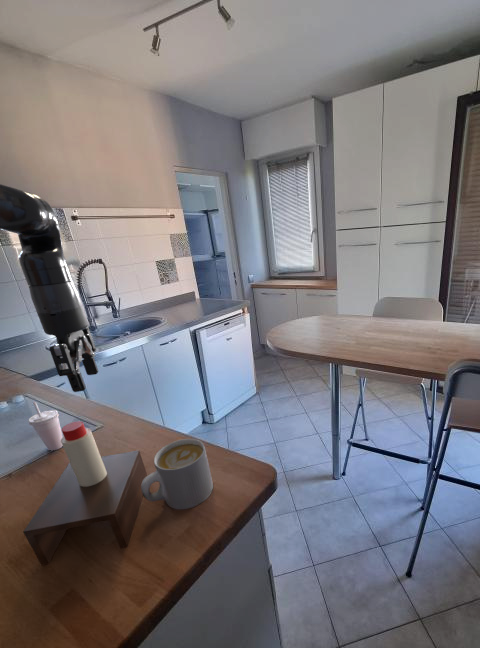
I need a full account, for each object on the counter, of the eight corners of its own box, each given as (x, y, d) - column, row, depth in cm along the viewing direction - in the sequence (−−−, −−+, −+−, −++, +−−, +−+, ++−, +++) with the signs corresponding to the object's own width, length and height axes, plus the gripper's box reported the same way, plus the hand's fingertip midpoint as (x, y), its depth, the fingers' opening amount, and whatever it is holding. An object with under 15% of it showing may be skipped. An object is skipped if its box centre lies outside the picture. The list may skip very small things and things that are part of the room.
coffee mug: (206, 469, 77) (197, 433, 73) (219, 495, 69) (210, 456, 65) (144, 493, 72) (132, 455, 68) (151, 525, 64) (137, 485, 60)
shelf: (41, 565, 57) (22, 531, 54) (82, 491, 74) (69, 462, 70) (127, 546, 60) (114, 513, 56) (148, 478, 76) (139, 450, 73)
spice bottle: (75, 489, 63) (51, 435, 58) (84, 472, 67) (63, 421, 62) (102, 484, 63) (81, 431, 59) (110, 467, 68) (91, 417, 63)
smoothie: (36, 451, 89) (15, 405, 83) (60, 437, 94) (41, 394, 89) (52, 455, 86) (31, 409, 81) (75, 441, 92) (57, 396, 86)
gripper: (53, 301, 70) (79, 372, 76) (18, 317, 57) (53, 400, 64) (92, 297, 71) (114, 367, 78) (66, 312, 59) (95, 393, 65)
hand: (86, 382), depth 71 cm, fingers open, 8 cm apart
